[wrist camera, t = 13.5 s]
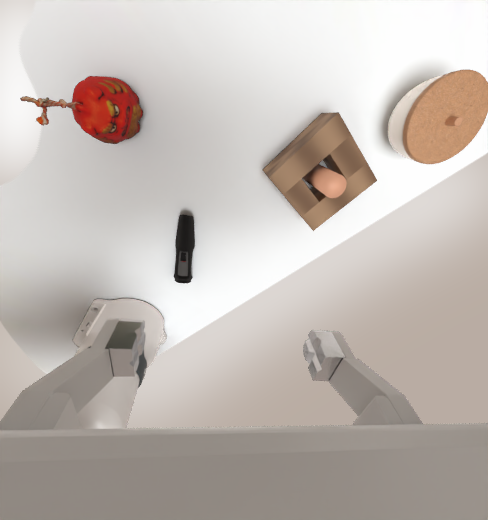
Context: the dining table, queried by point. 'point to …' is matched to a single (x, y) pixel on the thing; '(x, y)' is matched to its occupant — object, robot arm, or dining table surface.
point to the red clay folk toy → (100, 108)
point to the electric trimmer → (184, 249)
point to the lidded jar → (439, 116)
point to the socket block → (312, 153)
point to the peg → (326, 181)
